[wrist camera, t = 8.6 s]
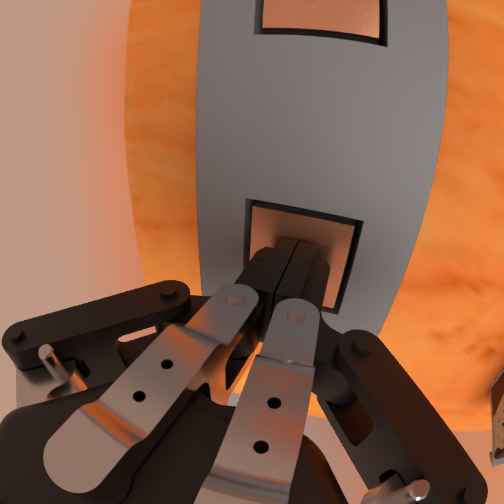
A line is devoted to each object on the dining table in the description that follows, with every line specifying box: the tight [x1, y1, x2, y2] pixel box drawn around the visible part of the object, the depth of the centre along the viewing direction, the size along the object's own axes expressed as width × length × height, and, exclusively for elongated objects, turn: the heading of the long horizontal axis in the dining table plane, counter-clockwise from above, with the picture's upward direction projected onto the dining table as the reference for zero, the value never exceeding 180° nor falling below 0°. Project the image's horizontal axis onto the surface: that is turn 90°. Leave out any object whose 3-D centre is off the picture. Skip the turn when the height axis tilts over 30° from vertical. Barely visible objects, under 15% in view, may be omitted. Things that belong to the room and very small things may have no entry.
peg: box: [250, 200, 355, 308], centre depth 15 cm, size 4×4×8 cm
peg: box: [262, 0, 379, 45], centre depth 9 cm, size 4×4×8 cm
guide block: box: [196, 0, 449, 343], centre depth 12 cm, size 22×9×8 cm, turn 177°
